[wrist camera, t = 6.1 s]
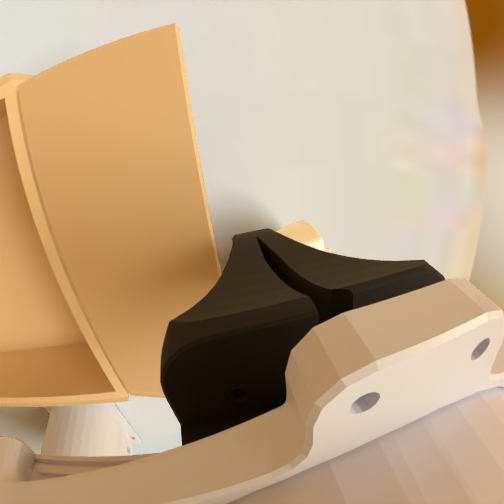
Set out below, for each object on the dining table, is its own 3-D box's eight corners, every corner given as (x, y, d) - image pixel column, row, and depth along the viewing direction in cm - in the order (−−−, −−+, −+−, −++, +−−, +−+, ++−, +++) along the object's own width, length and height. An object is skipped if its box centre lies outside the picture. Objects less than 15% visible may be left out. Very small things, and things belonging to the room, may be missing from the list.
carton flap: (130, 395, 17) (132, 388, 17) (247, 399, 16) (247, 392, 16) (17, 85, 9) (25, 84, 9) (174, 23, 8) (178, 26, 9)
